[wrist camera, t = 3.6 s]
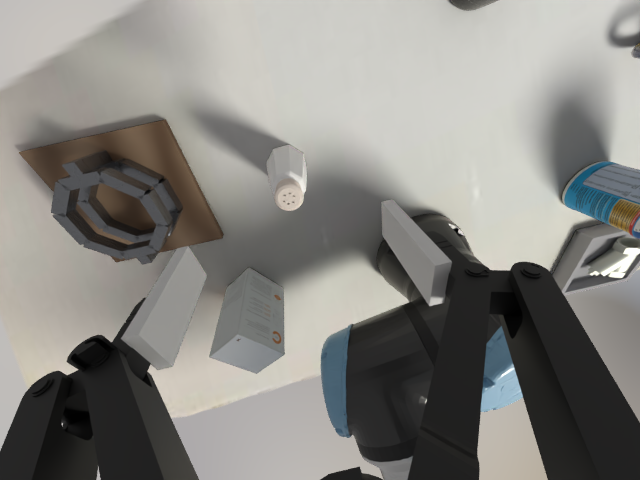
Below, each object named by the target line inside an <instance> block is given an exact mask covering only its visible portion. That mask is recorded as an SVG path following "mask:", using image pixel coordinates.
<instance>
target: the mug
mask: <svg viewBox="0 0 640 480" xmlns="http://www.w3.org/2000/svg"><path fill="white" fill-rule="evenodd" d="M631 55H632V57H634V58H638V59H640V43H639V44H637V45H636V46H635V47H634V48H633V50H632V52H631Z"/></svg>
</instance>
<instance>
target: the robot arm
mask: <svg viewBox="0 0 640 480" xmlns="http://www.w3.org/2000/svg"><path fill="white" fill-rule="evenodd" d="M381 207H382V235H383V237H384V240H383V242H382V243H381V245H380V247H379V250H378V254H377V264H378V268H379V270H380V272H381V274H382V275H383V277H384V279H385V280H386V281H387V282H388V283H389V284H390V285H392V286H393V287H394V288H395V289H396V290H397V291H399V292H400V293H401V294H402V295H404V296H405V297H406V298H407V299H408V300H409V303H407V304H404V305H402V306H399V307H396V308H394V309H391V310H389V311H386V312H384V313H381V314H379V315H376V316H374V317H371V318H369V319H366V320H364V321H361V322H359V323H356V324H354V325H353V324H351V325H349V326H348V327H347V328H345V329H343V330H341V331H339V332H337V333H334V334H332V335H331V336H329V337H328V338H327V339H326V341H325V343H324V345H323V348H322V353H321V379H322V387H323V394H324V398H325V403H326V408H327V411H328V415H329V418H330V420H331V423H332V425H333V427H334V428H335V430H336V432H337V433H338V434H339V435H340V436H342V437H347V438H349V437H351V435H354V437H355V439H356V442H357V445H358V447H359V451H360V453H361V455H362V457H363V458H364V460H366V461H367V462H369V463H371V464H373V465H375V466H377V467H379V468H380V470H381V473H382V476H383V479H384V480H479V461H478V457H477V446H478V434H479V424H480V412H487V411H489V410H492V409H493V410H496V409H499V408H502V407H505V406H507V405H509V404H511V403H513V402H515V401H517V400H519V399H521V398H524V402H525V404H526V408H527V412H528V415H529V418H530V421H531V425H532V428H533V431H534V435H535V438H536V441H537V445H538V448H539V451H540V454H541V458H542V461H543V465H544V468H545V471H546V474H547V478H548V480H640V423H639V421H638V419H637V417H636V416H635V414H634V412H633V411H632V409H631V407H630V406H629V404H628V402H627V401H626V399H625V397H624V396H623V394H622V392H621V391H620V389H619V387H618V385H617V384H616V382H615V380H614V379H613V377H612V376H611V374H610V372H609V370H608V369H607V367H606V365H605V364H604V362H603V360H602V358H601V357H600V355H599V354H598V352H597V350H596V348H595V347H594V345H593V343H592V342H591V340H590V338H589V337H588V335H587V333H586V332H585V330H584V328H583V327H582V325H581V323H580V321H579V320H578V318H577V317H576V315H575V313H574V311H573V310H572V308H571V307H570V305H569V303H568V301H567V300H566V298H565V296H564V295H563V293H562V291H561V289H560V288H559V286H558V284H557V283H556V281H555V279H554V278H553V276H552V274H551V273H550V272H549V271H548V270H547V269H546V268H544V267H542V266H540V265H537V264H535V263H530V262H518V263H515V264H514V265H513V266H512V268H511V270H510V271H498V270H490V269H489V268H488V267H486V266H485V265H483V264H482V263H481V262H480V261H479V260H478V259H477V258H476V257H475V256H474V254H473V252H472V250H471V248H470V246H469V244H468V242H467V240H466V238H465V236H464V234H463V232H462V230H461V229H460V228H459V227H458V226H457V225H456V224H454V223H453V222H452V221H451V220H449V219H448V218H446V217H444V216H441V215H436V214H425V215H420V216H416V217H413V218H410V217H409V216H408V215H407V214H406V213H405V212H404V211H403V210H402V209H401V208H400V207H399V206H398V204H397V203H396V202H395V201H394V200H393V199H391V200H387V201H382V202H381ZM206 278H207V275H206V273H205V271H204V270H203V268H202V267H201V265H200V263H199V262H198V260H197V259H196V257H195V256H194V254H193V252H192V251H191V249H190V248H189V246H186V247H181V248H177V249H176V251H175V252H174V254H173V256H172V257H171V259H170V261H169V262H168V264H167V265H166V267H165V269H164V270H163V272H162V273H161V275H160V277H159V278H158V280H157V281H156V283H155V285H154V286H153V288H152V289H151V291H150V293H149V294H148V296H147V297H146V298H143V299H142V300H141V301H140V302H139V303H138V304H137V305H136V306H135V308H134V309H133V311H132V312H131V314H130V316H129V317H128V319H127V320H126V323H124V325H123V326H122V328H121V329H120V331H119V332H118V334H117V336H116V337H115V339H114V340H113V342H112V343H111V342H110V341H109V340H107V339H106V338H105V337H104V336H102V335H96V336H93V337H90V338H89V339H87V340H85V341H83V342H82V343H81V344H79V345H78V346H77V347H76V348H75V349H74V350H73V351H72V352H71V353H70V355H69V356H68V359H67V362H68V363H69V364H71V365H72V366H74V367H75V368H77V369H78V371H76V372H74V373H71V374H69V375H65V374H64V373H62V372H60V371H54V372H52V373H49V374H47V375H45V376H44V377H42V378H41V379H39V380H38V381H36V382H35V383H34V384H33V385H32V386H31V387H30V388H29V389H28V390H27V392H26V393H25V395H24V396H23V398H22V400H21V402H20V405H19V407H18V410H17V412H16V414H15V417H14V419H13V422H12V424H11V427H10V429H9V431H8V434H7V436H6V439H5V441H4V444H3V446H2V448H1V451H0V480H96V478H97V470H98V466H99V472H100V478H101V480H199V479H198V476H197V474H196V472H195V470H194V468H193V465H192V463H191V461H190V459H189V457H188V455H187V453H186V450H185V448H184V446H183V444H182V441H181V439H180V437H179V435H178V433H177V431H176V429H175V426H174V424H173V422H172V420H171V417H170V415H169V413H168V411H167V409H166V406H165V404H164V402H163V400H162V398H161V396H160V393H159V391H158V389H157V387H156V385H155V382H154V380H153V378H152V376H151V375H150V374H149V373H148V372H147V371H148V369H149V366H150V364H151V365H152V366H153V367H155V368H156V369H157V370H160V369H164V368H169V367H173V365H174V362H175V359H176V357H177V354H178V352H179V349H180V346H181V344H182V341H183V338H184V336H185V333H186V330H187V328H188V325H189V322H190V320H191V317H192V315H193V312H194V309H195V307H196V304H197V301H198V299H199V296H200V293H201V291H202V288H203V286H204V283H205V280H206ZM61 423H63V426H62V425H61ZM383 479H381V478H379V477H376V476H373V475H369V474H363V473H361V470H360V467H357V468H352V469H348V470H344V471H340V472H336V473H331V474H328V475H327V476H326V477H324V478H322V479H321V480H383Z"/></svg>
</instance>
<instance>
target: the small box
mask: <svg viewBox="0 0 640 480" xmlns="http://www.w3.org/2000/svg"><path fill="white" fill-rule="evenodd" d="M284 354H285V352H284V288H282V287H281V286H279V285H277V284H276V283H274V282H273V281H271V280H269V279H268V278H266V277H264V276H263V275H261V274H259V273H258V272H256V271H254V270H253V269H251V268H250V267H249V268H248V269H247V270H245V271H244V272H243V273H242V274H241V275H240V276H239V277H238V278H237V279H236V280H235V281H233V282H232V283H231V284H230V285H229V286H228V287H227V289H226V293H225V297H224V301H223V304H222V308H221V312H220V316H219V320H218V324H217V328H216V332H215V336H214V340H213V344H212V348H211V352H210V356H209V357H210V358H213V359H216V360H219V361H222V362H225V363H227V364H230V365H233V366H236V367H239V368H242V369H245V370H247V371H250V372H253V373H256V374H257V373H258V372H260V371H261V370H263V369H264V368H266V367H267V366H269V365H270V364H272V363H273V362H275V361H276V360H277V359H279V358H280V357H282V356H283V355H284Z"/></svg>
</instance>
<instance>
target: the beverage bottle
mask: <svg viewBox="0 0 640 480" xmlns="http://www.w3.org/2000/svg"><path fill="white" fill-rule="evenodd" d="M562 200H563V203H564V205H565V206H567V207H569V208H571V209H573V210H576V211H579V212H581V213H583V214H586V215H588V216H590V217H593V218H595V219H597V220H600V221H602V222H604V223H606V224H609V225H611V226H613V227H616V228H618V229H620V230H622V231H625V232H627V233H629V234H630V235H631V236H633V237H635V238H637V239H640V170H638V169H634V168H630V167H626V166H622V165H619V164H617V163H613V162H608V161H602V162H597V163H594V164H591V165H589V166H587V167H586V168H584V169H582V170H581V171H580V172H578V173H577V174H576V175H575V176H574V177H573V178H572V179H571V180H570V181H569V183H568V184H567V186H566V187H565V189H564V192H563V195H562Z"/></svg>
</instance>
